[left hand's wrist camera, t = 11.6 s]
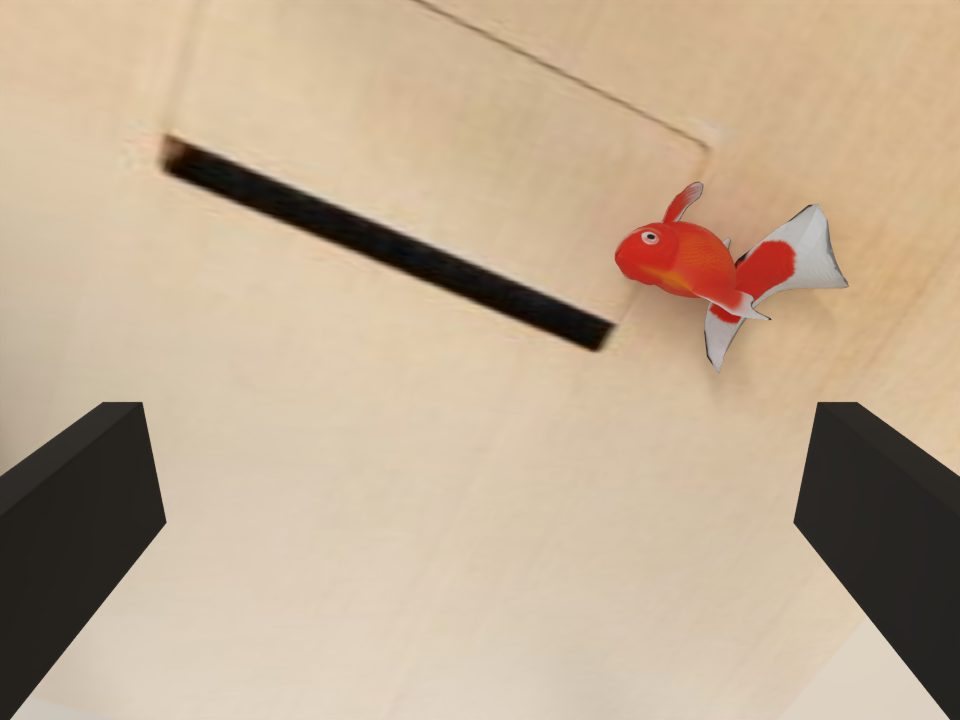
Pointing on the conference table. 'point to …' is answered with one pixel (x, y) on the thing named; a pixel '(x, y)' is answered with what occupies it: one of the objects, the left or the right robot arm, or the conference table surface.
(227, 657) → the conference table surface
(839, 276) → the fish
